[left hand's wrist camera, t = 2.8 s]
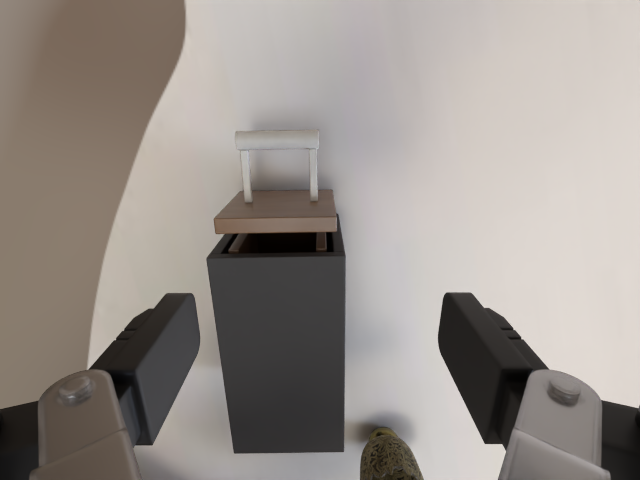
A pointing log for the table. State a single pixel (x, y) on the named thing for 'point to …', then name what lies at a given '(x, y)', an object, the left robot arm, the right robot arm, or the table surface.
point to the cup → (388, 458)
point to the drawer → (278, 203)
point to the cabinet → (282, 346)
